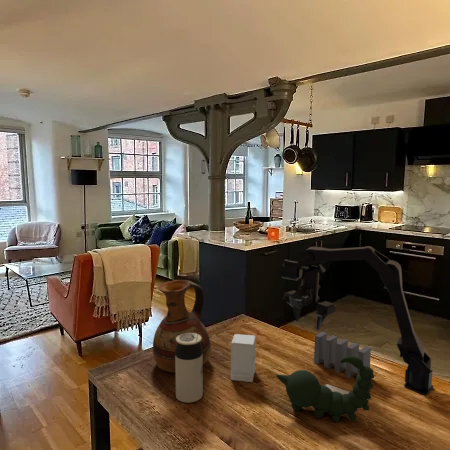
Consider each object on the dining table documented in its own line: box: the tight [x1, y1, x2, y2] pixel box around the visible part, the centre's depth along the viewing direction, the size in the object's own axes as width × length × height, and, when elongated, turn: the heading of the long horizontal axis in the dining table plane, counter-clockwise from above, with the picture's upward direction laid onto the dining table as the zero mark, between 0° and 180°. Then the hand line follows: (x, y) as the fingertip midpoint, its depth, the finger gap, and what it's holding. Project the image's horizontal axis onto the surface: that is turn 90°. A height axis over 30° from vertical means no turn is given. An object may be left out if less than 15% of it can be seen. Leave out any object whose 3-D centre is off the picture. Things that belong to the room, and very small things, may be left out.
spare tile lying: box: [324, 383, 350, 395], centre depth 106 cm, size 10×5×2 cm, turn 52°
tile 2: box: [323, 334, 338, 370], centre depth 125 cm, size 2×5×10 cm, turn 133°
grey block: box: [345, 342, 360, 379], centre depth 119 cm, size 2×5×10 cm, turn 133°
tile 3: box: [334, 338, 349, 374], centre depth 122 cm, size 2×5×10 cm, turn 133°
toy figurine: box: [275, 356, 375, 423], centre depth 98 cm, size 9×19×25 cm
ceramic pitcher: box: [152, 279, 212, 373], centre depth 124 cm, size 20×20×30 cm
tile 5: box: [356, 346, 372, 376], centre depth 116 cm, size 2×5×10 cm, turn 133°
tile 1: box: [313, 331, 328, 365], centre depth 127 cm, size 2×5×10 cm, turn 133°
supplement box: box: [230, 333, 257, 383], centre depth 118 cm, size 7×7×13 cm
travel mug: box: [175, 333, 204, 404], centre depth 106 cm, size 8×8×18 cm
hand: (307, 325), depth 128 cm, fingers open, 9 cm apart
